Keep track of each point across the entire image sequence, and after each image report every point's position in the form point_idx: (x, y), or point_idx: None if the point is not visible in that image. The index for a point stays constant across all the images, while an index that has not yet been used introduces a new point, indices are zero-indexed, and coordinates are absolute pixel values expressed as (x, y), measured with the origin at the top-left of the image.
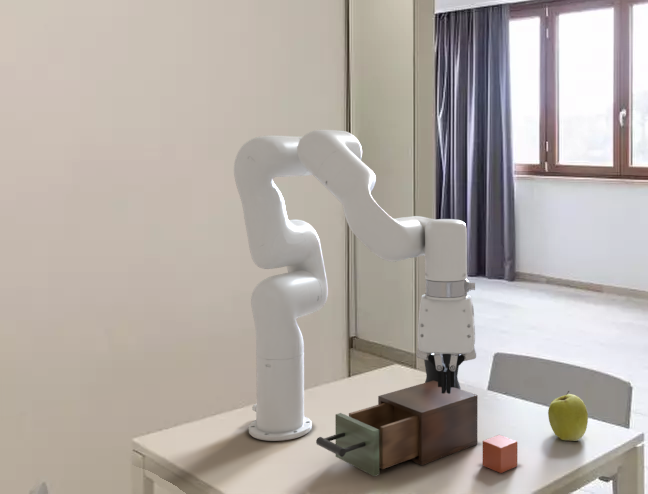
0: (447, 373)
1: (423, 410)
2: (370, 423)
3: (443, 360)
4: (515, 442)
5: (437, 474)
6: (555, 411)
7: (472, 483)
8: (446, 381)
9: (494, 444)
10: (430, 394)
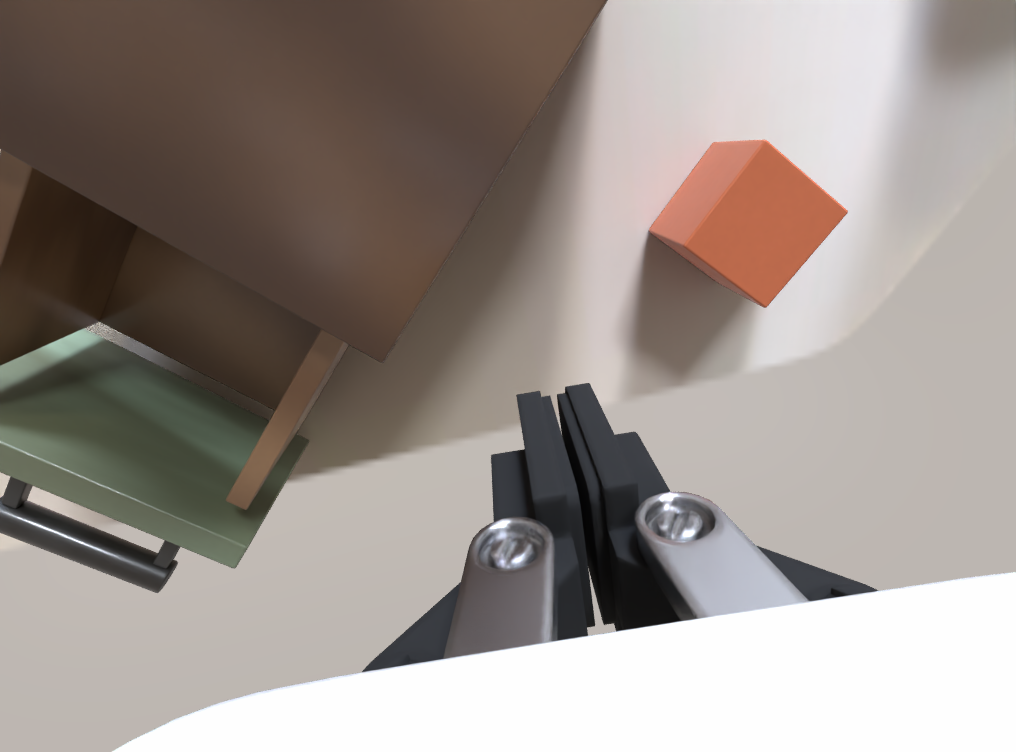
0: (615, 627)
1: (380, 327)
2: (70, 245)
3: None
4: (837, 223)
5: (493, 345)
6: None
7: (623, 380)
8: (587, 561)
9: (739, 276)
10: None
